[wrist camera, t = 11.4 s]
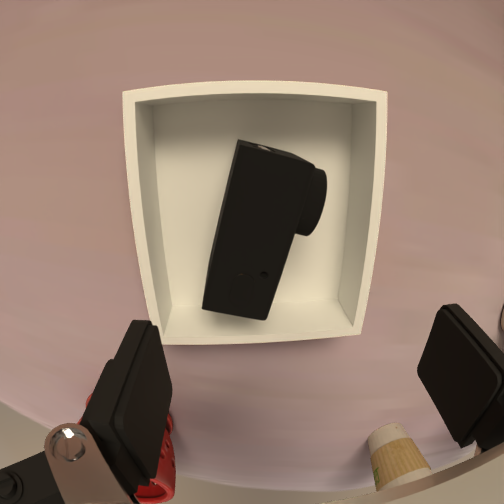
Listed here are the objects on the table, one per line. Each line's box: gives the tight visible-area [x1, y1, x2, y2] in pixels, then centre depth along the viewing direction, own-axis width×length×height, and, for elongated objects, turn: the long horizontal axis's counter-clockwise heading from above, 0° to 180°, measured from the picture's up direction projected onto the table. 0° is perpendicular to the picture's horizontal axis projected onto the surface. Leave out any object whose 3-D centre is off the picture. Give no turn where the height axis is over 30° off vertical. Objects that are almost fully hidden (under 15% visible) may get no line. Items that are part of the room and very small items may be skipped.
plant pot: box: [77, 393, 176, 504], centre depth 29 cm, size 13×13×12 cm
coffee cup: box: [368, 423, 432, 492], centre depth 34 cm, size 10×10×15 cm
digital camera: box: [202, 139, 327, 321], centre depth 21 cm, size 10×5×7 cm, turn 166°
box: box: [123, 81, 387, 345], centre depth 22 cm, size 17×19×6 cm
